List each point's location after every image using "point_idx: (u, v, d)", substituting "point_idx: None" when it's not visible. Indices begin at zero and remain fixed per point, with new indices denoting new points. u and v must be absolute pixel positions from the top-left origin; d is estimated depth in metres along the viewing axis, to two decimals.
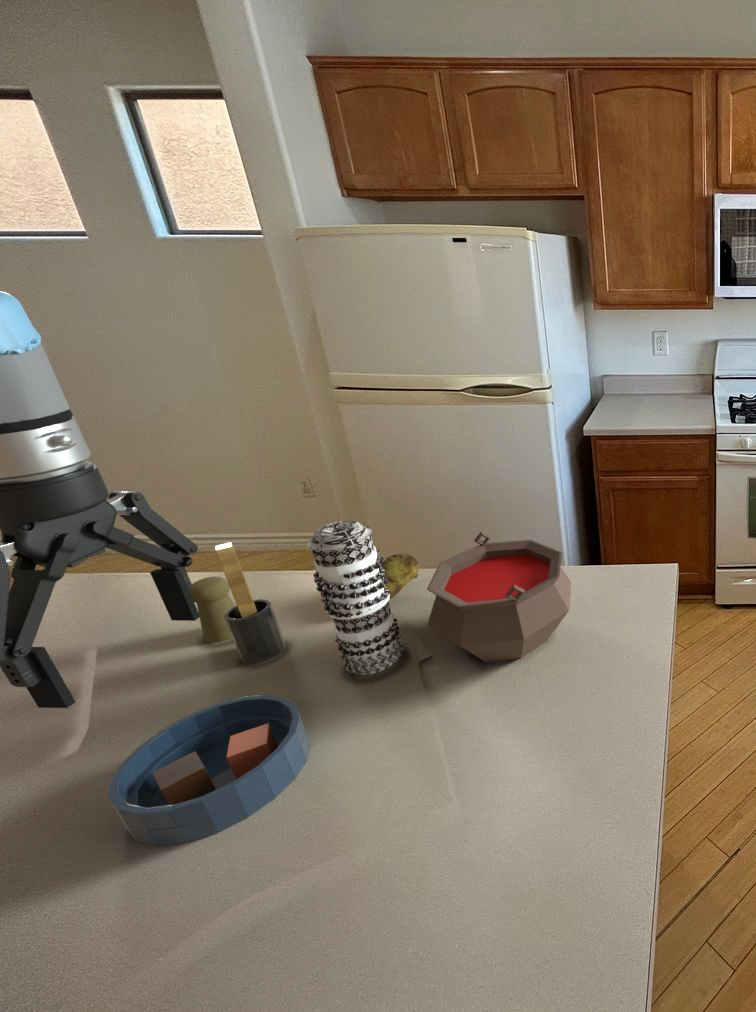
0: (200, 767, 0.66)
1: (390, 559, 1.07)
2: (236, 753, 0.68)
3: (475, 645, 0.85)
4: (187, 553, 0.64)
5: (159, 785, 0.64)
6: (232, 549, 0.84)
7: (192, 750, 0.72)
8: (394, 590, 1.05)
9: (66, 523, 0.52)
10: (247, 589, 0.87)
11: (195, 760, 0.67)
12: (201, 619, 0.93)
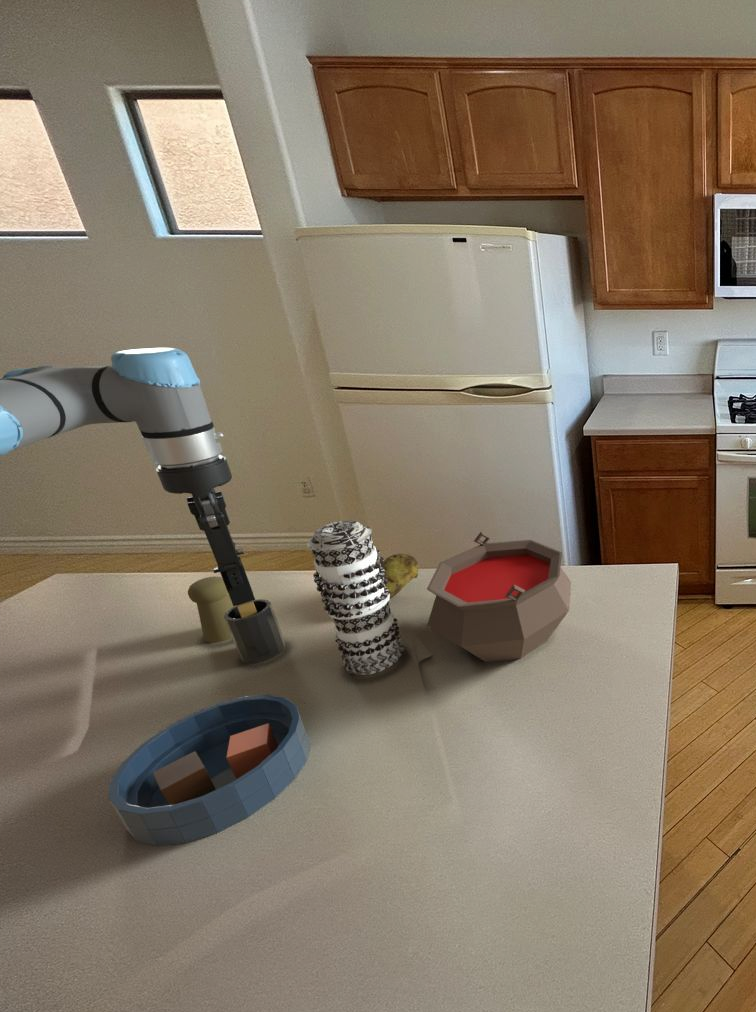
0: (200, 767, 0.66)
1: (390, 559, 1.07)
2: (236, 753, 0.68)
3: (475, 645, 0.85)
4: None
5: (159, 785, 0.64)
6: None
7: (192, 750, 0.72)
8: (394, 590, 1.05)
9: None
10: None
11: (195, 760, 0.67)
12: (201, 619, 0.93)
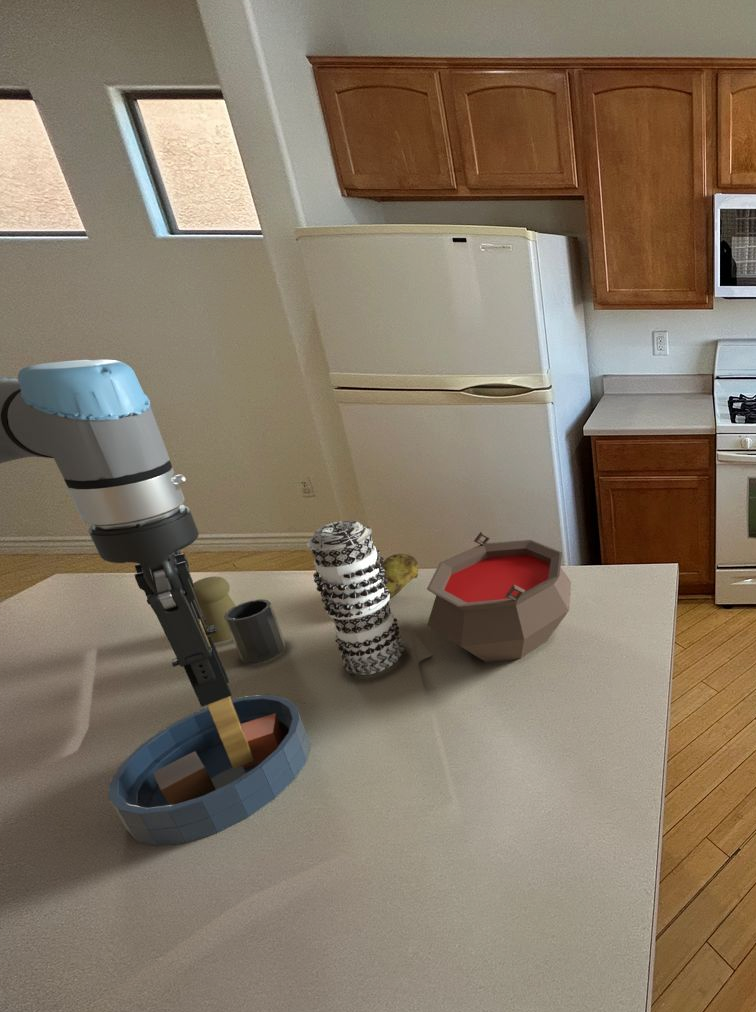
0: (200, 767, 0.66)
1: (390, 559, 1.07)
2: None
3: (475, 645, 0.85)
4: None
5: (159, 785, 0.64)
6: None
7: (192, 750, 0.72)
8: (394, 590, 1.05)
9: (171, 556, 0.59)
10: None
11: (195, 760, 0.67)
12: None
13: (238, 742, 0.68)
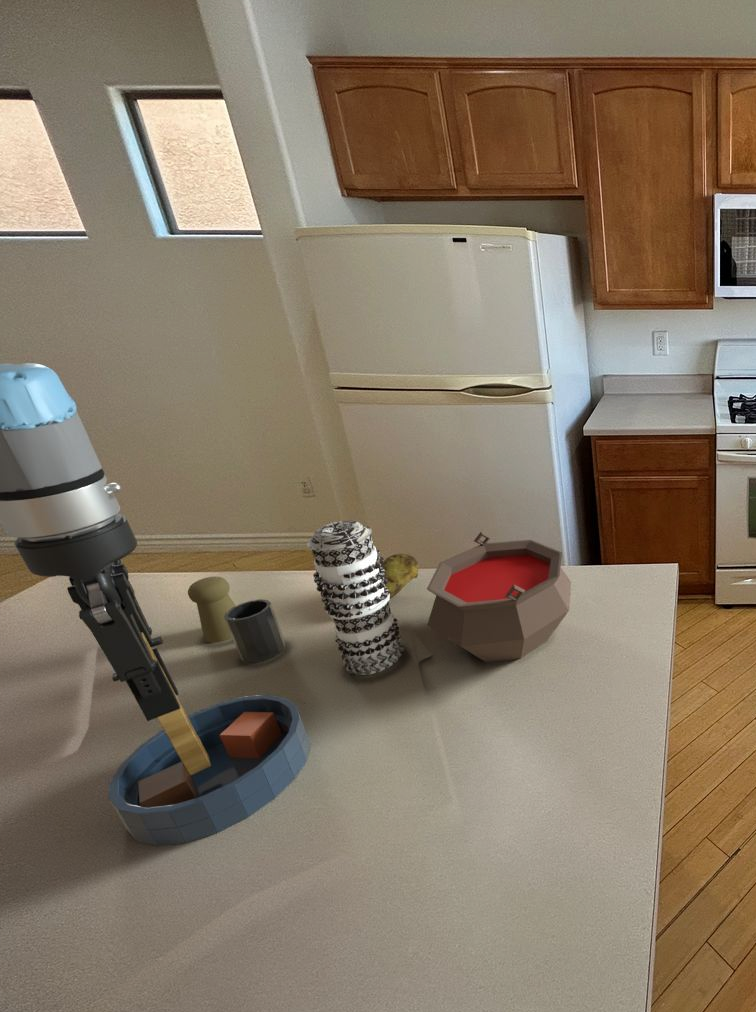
0: (182, 780, 0.65)
1: (390, 559, 1.07)
2: (227, 734, 0.71)
3: (475, 645, 0.85)
4: None
5: (140, 797, 0.63)
6: None
7: None
8: (394, 590, 1.05)
9: (108, 567, 0.57)
10: None
11: (180, 772, 0.66)
12: (201, 619, 0.93)
13: (193, 749, 0.67)
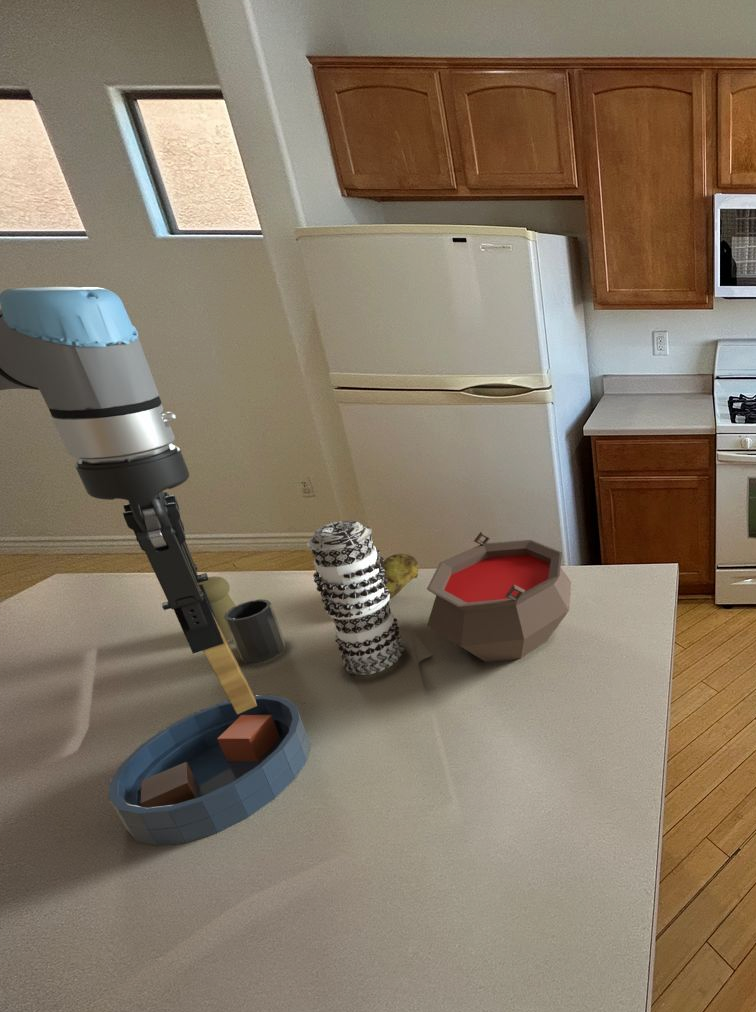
0: (184, 782, 0.64)
1: (390, 559, 1.07)
2: (225, 738, 0.70)
3: (475, 645, 0.85)
4: None
5: (141, 797, 0.63)
6: None
7: (192, 750, 0.72)
8: (394, 590, 1.05)
9: (161, 496, 0.58)
10: None
11: (182, 773, 0.66)
12: None
13: (239, 687, 0.67)
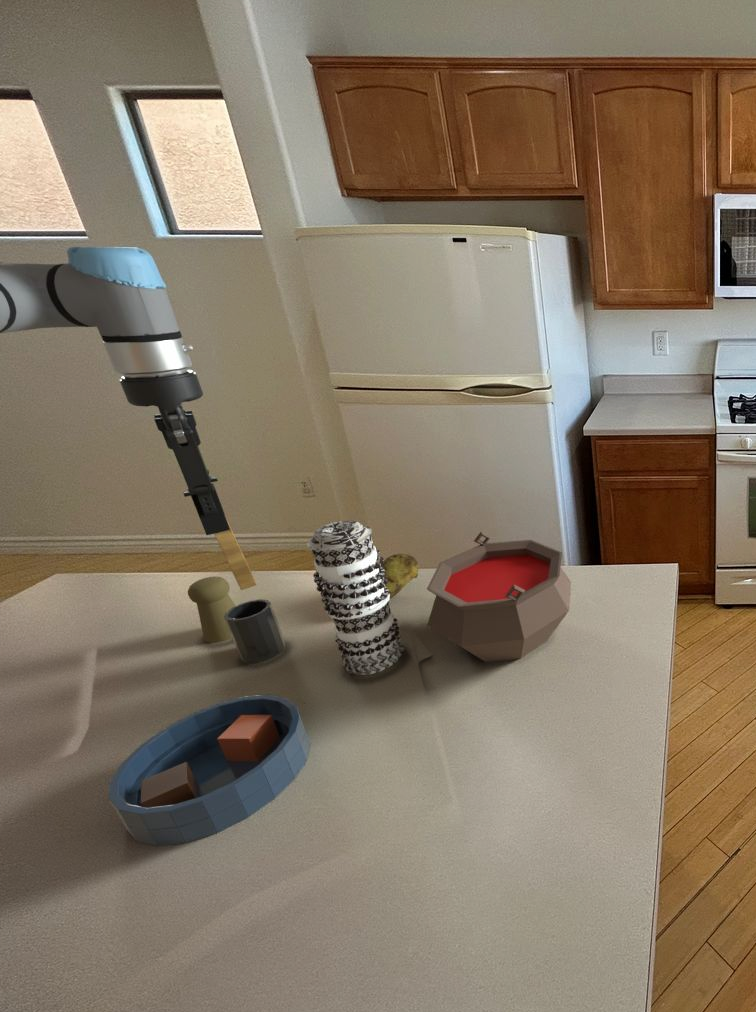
0: (184, 782, 0.64)
1: (390, 559, 1.07)
2: (225, 738, 0.70)
3: (475, 645, 0.85)
4: None
5: (141, 797, 0.63)
6: None
7: (192, 750, 0.72)
8: (394, 590, 1.05)
9: None
10: None
11: (182, 773, 0.66)
12: (201, 619, 0.93)
13: (242, 568, 0.86)
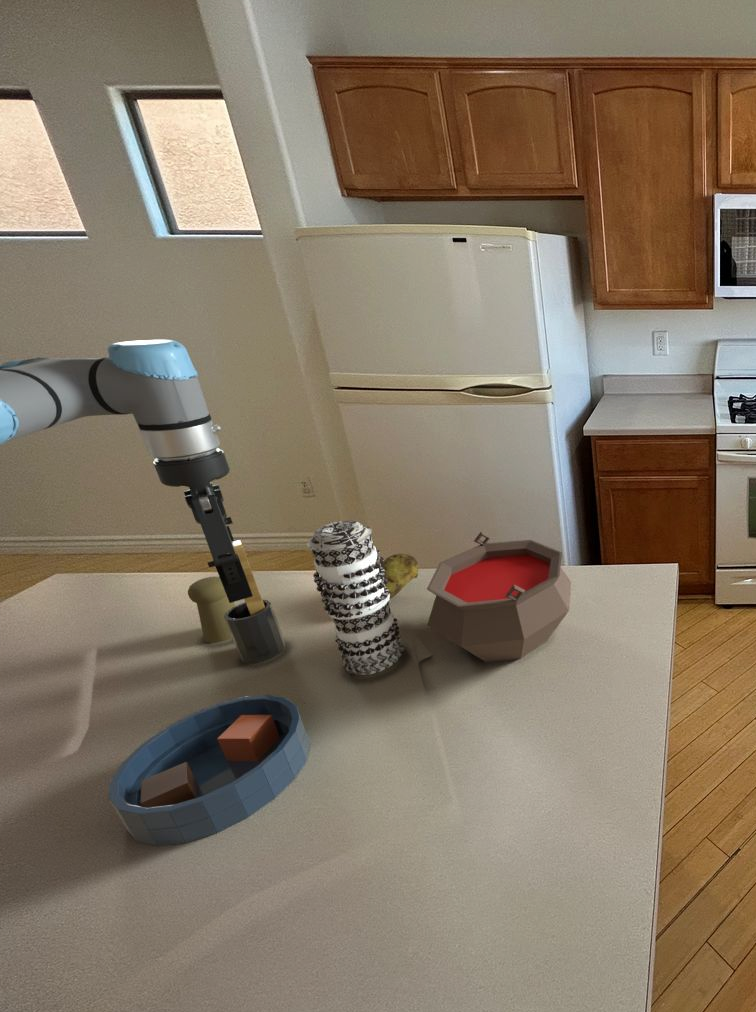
0: (184, 782, 0.64)
1: (390, 559, 1.07)
2: (225, 738, 0.70)
3: (475, 645, 0.85)
4: None
5: (141, 797, 0.63)
6: (241, 547, 0.85)
7: (192, 750, 0.72)
8: (394, 590, 1.05)
9: None
10: (256, 587, 0.88)
11: (182, 773, 0.66)
12: (201, 619, 0.93)
13: None
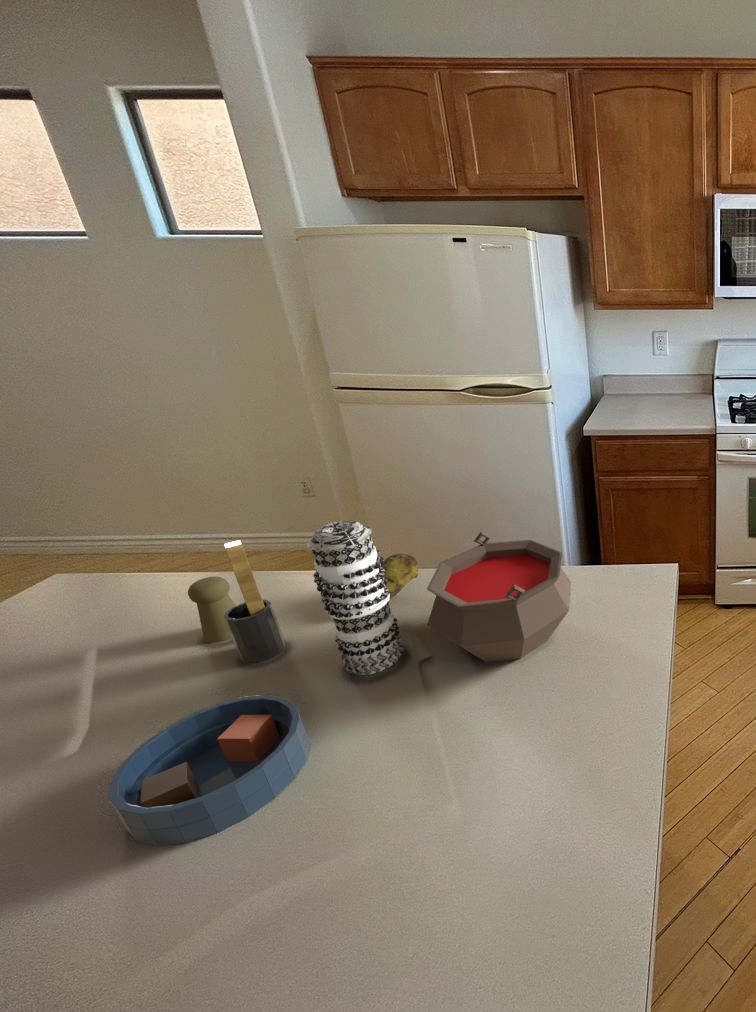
0: (184, 782, 0.64)
1: (390, 559, 1.07)
2: (225, 738, 0.70)
3: (475, 645, 0.85)
4: None
5: (141, 797, 0.63)
6: (241, 547, 0.85)
7: (192, 750, 0.72)
8: (394, 590, 1.05)
9: None
10: (256, 587, 0.88)
11: (182, 773, 0.66)
12: (201, 619, 0.93)
13: None
